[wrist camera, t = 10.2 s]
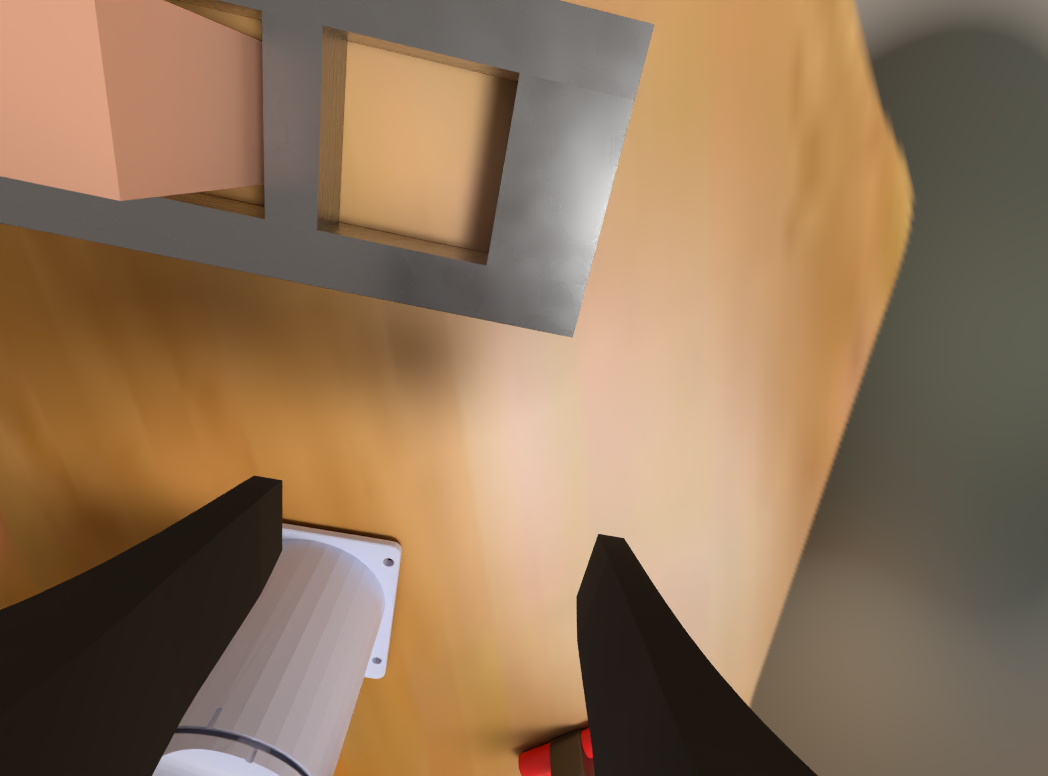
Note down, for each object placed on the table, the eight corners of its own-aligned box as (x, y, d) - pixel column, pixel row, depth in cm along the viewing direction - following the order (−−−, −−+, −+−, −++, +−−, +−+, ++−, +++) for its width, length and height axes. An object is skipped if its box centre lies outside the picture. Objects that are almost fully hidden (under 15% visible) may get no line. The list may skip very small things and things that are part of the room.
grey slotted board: (568, 319, 19) (572, 337, 17) (-181, 168, 17) (-265, 169, 15) (639, 39, 15) (654, 24, 13) (-312, -199, 13) (-448, -256, 11)
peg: (273, 183, 17) (120, 201, 11) (151, 157, 17) (-81, 159, 10) (271, 45, 15) (89, -32, 9) (136, 14, 15) (-150, -89, 9)
